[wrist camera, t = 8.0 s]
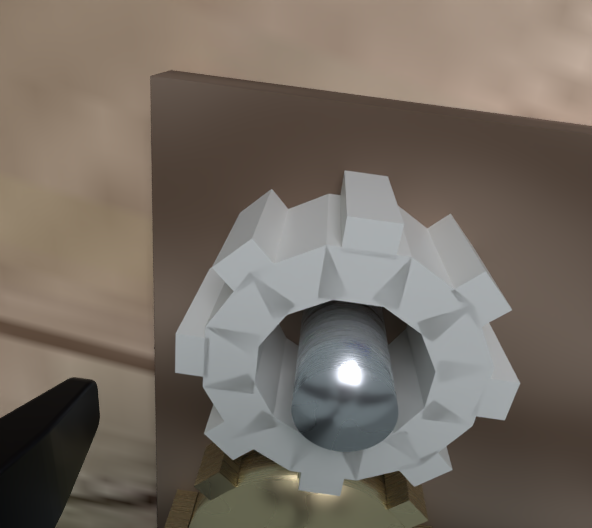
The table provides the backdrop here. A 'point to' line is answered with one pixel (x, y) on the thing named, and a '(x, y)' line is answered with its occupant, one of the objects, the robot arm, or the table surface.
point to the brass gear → (290, 498)
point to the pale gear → (357, 289)
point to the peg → (344, 377)
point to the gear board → (427, 210)
